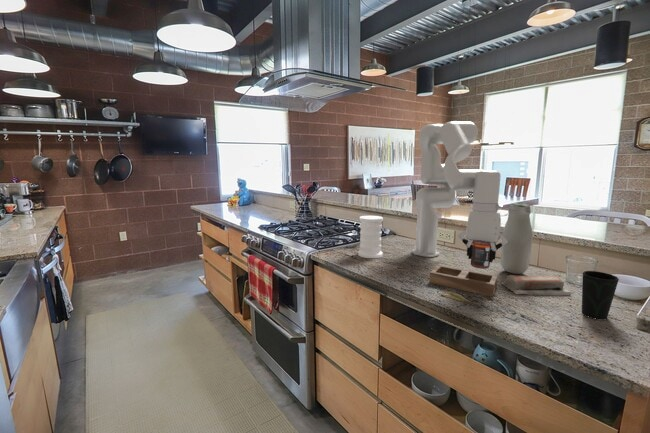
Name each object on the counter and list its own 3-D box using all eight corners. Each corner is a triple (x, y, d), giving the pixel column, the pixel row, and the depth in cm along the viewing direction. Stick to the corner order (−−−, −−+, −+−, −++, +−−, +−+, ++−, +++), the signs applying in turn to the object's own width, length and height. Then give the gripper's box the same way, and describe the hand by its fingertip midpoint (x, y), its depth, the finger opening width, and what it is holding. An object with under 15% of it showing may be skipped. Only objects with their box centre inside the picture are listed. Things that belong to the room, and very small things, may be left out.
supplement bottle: (491, 270, 105) (495, 236, 104) (472, 268, 107) (475, 236, 105) (486, 264, 111) (489, 233, 109) (468, 263, 112) (471, 232, 110)
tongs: (479, 310, 95) (479, 304, 95) (439, 298, 105) (439, 292, 104) (485, 306, 97) (485, 300, 97) (445, 295, 107) (445, 289, 107)
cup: (570, 309, 94) (575, 271, 92) (594, 308, 95) (600, 270, 93) (594, 322, 87) (600, 280, 85) (619, 321, 87) (626, 280, 85)
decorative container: (387, 256, 147) (388, 218, 144) (365, 259, 142) (366, 220, 139) (374, 250, 157) (375, 214, 154) (353, 252, 153) (354, 216, 150)
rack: (437, 274, 123) (437, 264, 123) (496, 286, 112) (497, 275, 111) (429, 283, 115) (429, 272, 114) (492, 296, 103) (493, 285, 102)
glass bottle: (530, 272, 126) (538, 202, 121) (524, 279, 119) (533, 205, 114) (502, 266, 133) (509, 200, 128) (495, 272, 125) (502, 203, 121)
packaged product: (518, 282, 104) (501, 272, 114) (516, 296, 105) (500, 284, 114) (573, 282, 104) (552, 272, 113) (571, 296, 104) (550, 285, 114)
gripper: (515, 208, 104) (510, 261, 107) (459, 204, 113) (456, 253, 116) (513, 211, 98) (508, 267, 101) (455, 207, 107) (451, 258, 110)
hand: (480, 259), depth 109 cm, fingers closed on supplement bottle, 6 cm apart
